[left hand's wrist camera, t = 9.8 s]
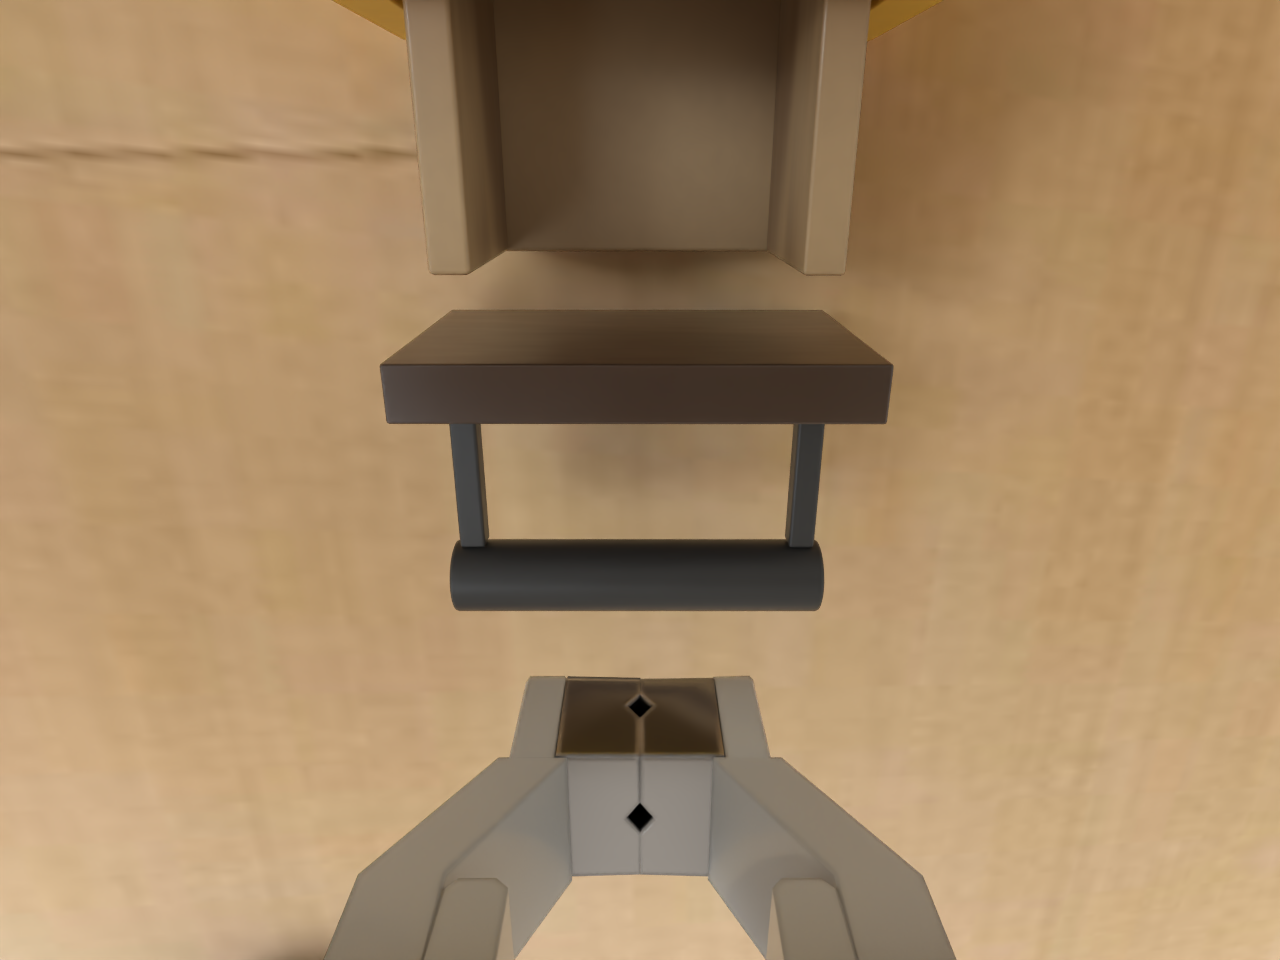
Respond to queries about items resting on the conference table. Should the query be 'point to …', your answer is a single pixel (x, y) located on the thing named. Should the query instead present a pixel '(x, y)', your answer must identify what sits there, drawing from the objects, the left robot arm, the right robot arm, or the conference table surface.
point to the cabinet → (888, 10)
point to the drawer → (636, 221)
